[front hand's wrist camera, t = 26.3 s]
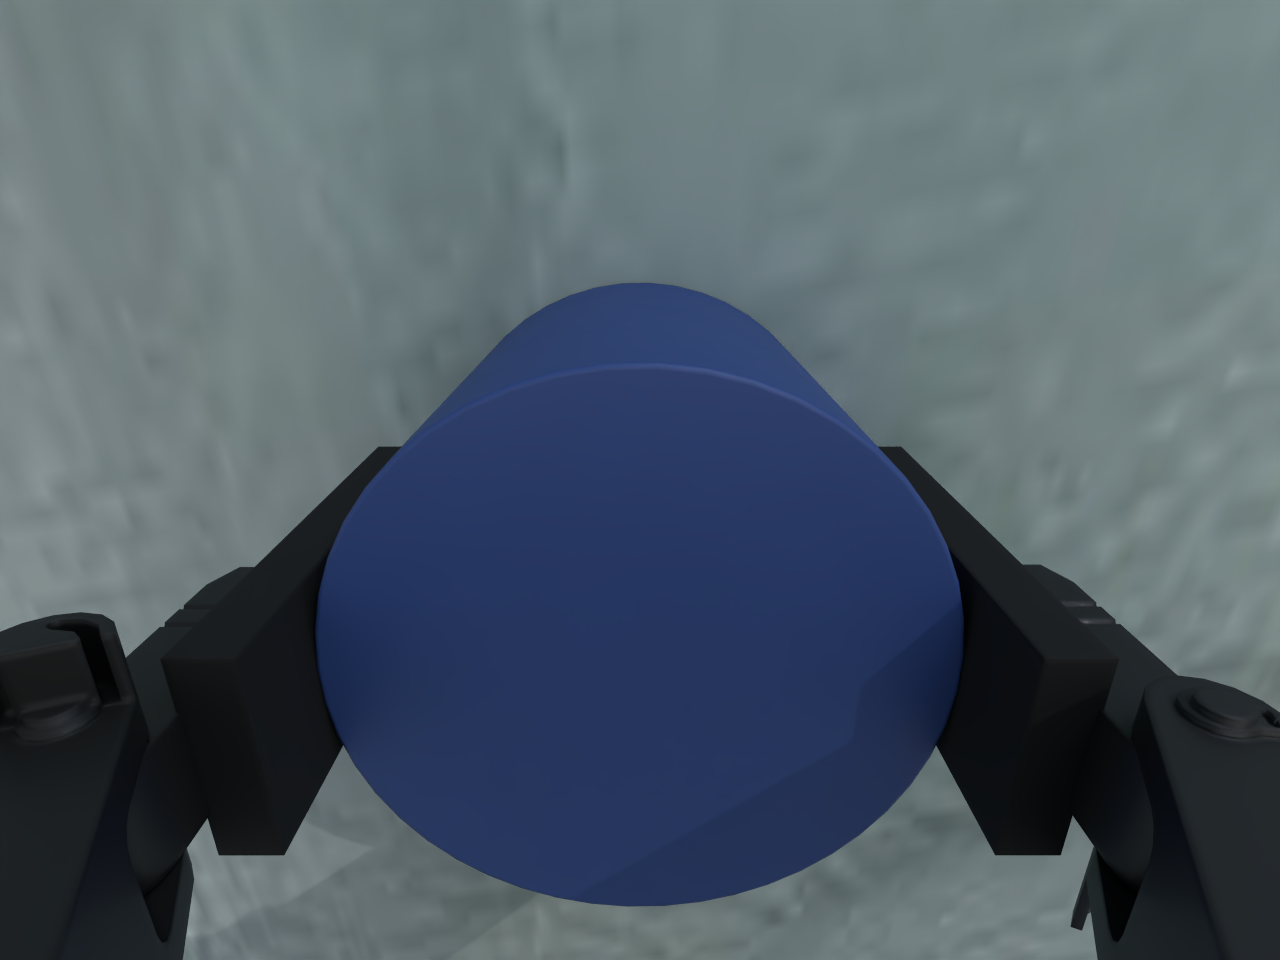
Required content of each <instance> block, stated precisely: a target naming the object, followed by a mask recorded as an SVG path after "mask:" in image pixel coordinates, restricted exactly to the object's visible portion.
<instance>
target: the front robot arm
mask: <svg viewBox="0 0 1280 960" xmlns="http://www.w3.org/2000/svg"><path fill="white" fill-rule="evenodd" d="M400 448H401V447H378V448H377V449H376V450H375V451H374V452H373V453H372V454H370V455H369V456H368V457H367V458H366V459H365V460H364V461H363V462H362V463H361V464H360V465H359V466H358V467H357V468H356V469H355V470H354V471H353V472H352V473H351V474H350V475H349V476H348V477H347V478H346V479H345V480H344V481H343V482H342V483H341V484H340V485H339V486H338V487H337V488H336V489H335V490H333V491H332V492H331V493H330V494H329V495H328V496H327V497H326V498H325V499H324V500H323V501H322V502H321V503H320V504H319V505H318V506H317V507H316V508H315V509H314V510H313V511H312V512H311V513H310V514H309V515H308V516H307V517H306V518H305V519H304V520H303V521H302V522H301V523H300V524H299V525H297V526H296V527H295V528H294V529H293V530H292V531H291V532H290V533H289V534H288V535H287V536H286V537H285V538H284V539H283V540H282V541H281V542H280V543H279V544H278V545H277V546H276V547H275V548H274V549H273V550H272V551H271V552H270V553H269V554H268V555H267V556H266V557H265V558H264V559H263V560H261V561H260V562H259V563H258V564H257V565H256V566H255V567H239V568H237V569H235V570H234V571H232V572H230V573H228V574H226V575H224V576H222V577H220V578H218V579H217V580H215V581H213V582H211V583H209V584H207V585H206V586H205V587H204V588H202V589H201V590H200V591H199V592H198V593H197V594H196V595H195V596H194V597H193V598H191V599H190V600H189V601H188V602H187V603H186V604H185V605H184V609H179V610H178V611H177V612H176V613H175V614H174V615H173V616H172V617H170V618H169V619H168V620H167V621H166V622H165V626H164V627H159V628H158V629H157V630H156V631H155V632H154V633H153V634H152V635H151V636H149V637H148V638H147V639H146V640H145V641H144V642H143V643H142V644H141V645H139V646H138V647H137V648H136V649H135V650H134V651H133V652H132V653H131V654H130V655H128V656H127V657H126V658H125V654H124V651H123V648H122V645H121V642H120V639H119V636H118V633H117V629H116V626H115V623H114V621H112V620H110V619H109V618H107V617H105V616H104V615H102V614H92V613H82V612H80V613H71V614H61V615H53V616H49V617H45V618H41V619H37V620H33V621H29V622H25V623H22V624H19V625H16V626H14V627H11V628H9V629H6V630H4V631H1V632H0V960H183V953H184V946H185V939H186V932H187V925H188V918H189V911H190V904H191V897H192V890H193V883H194V876H193V869H192V863H191V860H190V857H189V854H188V851H187V847H188V846H189V844H190V843H191V841H192V840H193V838H194V837H195V835H196V834H197V833H198V831H199V830H200V828H201V827H202V825H203V824H204V822H205V821H206V819H207V818H208V821H209V824H210V827H211V831H212V834H213V837H214V841H215V844H216V847H217V851H218V854H219V855H285V853H286V851H287V849H288V847H289V845H290V843H291V842H292V840H293V838H294V836H295V834H296V832H297V830H298V829H299V827H300V825H301V823H302V821H303V819H304V817H305V816H306V814H307V812H308V810H309V808H310V806H311V804H312V802H313V801H314V799H315V797H316V795H317V793H318V791H319V789H320V788H321V786H322V784H323V782H324V780H325V778H326V776H327V774H328V773H329V771H330V769H331V767H332V765H333V763H334V761H335V760H336V758H337V756H338V754H339V752H340V750H341V748H342V747H343V743H342V742H341V740H340V738H339V736H338V734H337V732H336V729H335V726H334V724H333V721H332V719H331V716H330V714H329V711H328V708H327V706H326V703H325V699H324V695H323V690H322V686H321V682H320V677H319V673H318V668H317V654H316V639H315V626H316V615H317V604H318V593H319V590H320V586H321V582H322V578H323V574H324V570H325V566H326V562H327V558H328V556H329V553H330V551H331V549H332V547H333V544H334V542H335V540H336V537H337V535H338V533H339V530H340V528H341V526H342V524H343V521H344V520H345V518H346V517H347V515H348V514H349V512H350V511H351V509H352V507H353V506H354V504H355V503H356V501H357V500H358V498H359V496H360V495H361V493H362V492H363V490H364V489H365V487H366V486H367V485H368V484H369V483H370V482H371V480H372V479H373V478H374V477H375V476H376V475H377V474H378V472H379V471H380V470H381V469H382V468H383V467H384V466H385V465H386V463H387V462H388V461H389V460H390V459H391V458H392V457H393V455H394V454H395V453H396V452H397V451H398V450H399V449H400ZM878 448H879V449H880V450H881V451H882V452H883V453H884V454H885V455H886V456H887V457H888V458H889V459H890V461H891V462H892V463H893V464H894V465H895V466H896V467H897V468H898V469H899V470H900V471H901V472H902V473H903V474H904V475H905V477H906V478H907V479H908V481H909V482H910V483H911V485H912V486H913V488H914V489H915V490H916V492H917V493H918V495H919V496H920V497H921V499H922V500H923V502H924V503H925V504H926V506H927V507H928V509H929V510H930V512H931V514H932V516H933V518H934V520H935V522H936V524H937V526H938V528H939V530H940V532H941V534H942V536H943V538H944V540H945V542H946V544H947V546H948V549H949V552H950V556H951V559H952V562H953V565H954V569H955V572H956V575H957V578H958V581H959V587H960V594H961V601H962V608H963V616H964V647H963V662H962V668H961V673H960V679H959V685H958V690H957V694H956V697H955V700H954V703H953V706H952V709H951V712H950V715H949V718H948V721H947V724H946V726H945V728H944V730H943V732H942V734H941V736H940V738H939V740H938V742H937V744H936V746H937V747H938V749H939V751H940V753H941V755H942V757H943V759H944V760H945V762H946V764H947V766H948V768H949V770H950V772H951V774H952V775H953V777H954V779H955V781H956V783H957V785H958V787H959V788H960V790H961V792H962V794H963V796H964V798H965V800H966V801H967V803H968V805H969V807H970V809H971V811H972V813H973V815H974V816H975V818H976V820H977V822H978V824H979V826H980V828H981V829H982V831H983V833H984V835H985V837H986V839H987V841H988V843H989V844H990V846H991V848H992V850H993V852H994V854H995V855H1061V852H1062V849H1063V846H1064V842H1065V839H1066V836H1067V832H1068V829H1069V826H1070V822H1071V819H1072V816H1074V818H1075V819H1076V821H1077V822H1078V824H1079V825H1080V826H1081V828H1082V829H1083V831H1084V832H1085V834H1086V835H1087V836H1088V838H1089V839H1090V841H1091V842H1092V844H1093V845H1094V848H1093V851H1092V854H1091V857H1090V860H1089V863H1088V866H1087V870H1086V873H1085V876H1084V879H1083V882H1082V885H1081V888H1080V891H1079V895H1078V898H1077V901H1076V904H1075V907H1074V910H1073V916H1072V922H1071V927H1073V928H1076V929H1079V930H1082V929H1083V926H1084V923H1085V920H1086V917H1087V914H1088V913H1090V912H1091V916H1092V923H1093V930H1094V937H1095V944H1096V951H1097V958H1098V960H1280V712H1278V711H1277V710H1275V709H1274V708H1272V707H1271V706H1269V705H1268V704H1266V703H1265V702H1263V701H1262V700H1259V699H1257V698H1255V697H1253V696H1251V695H1249V694H1246V693H1244V692H1242V691H1240V690H1238V689H1236V688H1233V687H1230V686H1226V685H1223V684H1220V683H1216V682H1213V681H1210V680H1206V679H1201V678H1193V677H1185V676H1177V675H1176V674H1175V673H1174V672H1173V671H1172V670H1171V669H1170V668H1168V667H1167V666H1166V665H1165V664H1164V663H1163V662H1162V661H1161V660H1160V659H1158V658H1157V657H1156V656H1155V655H1154V654H1153V653H1152V652H1151V651H1150V650H1148V649H1147V648H1146V647H1145V646H1144V645H1143V644H1142V643H1141V642H1140V641H1138V640H1137V639H1136V638H1135V637H1134V636H1133V635H1132V634H1131V633H1130V632H1128V631H1127V630H1126V629H1125V628H1124V627H1123V626H1122V625H1121V624H1116V623H1115V619H1114V618H1113V617H1112V616H1111V615H1109V614H1108V613H1107V612H1106V611H1105V610H1104V609H1103V608H1102V607H1097V606H1096V602H1095V601H1094V600H1093V599H1092V598H1091V597H1089V596H1088V595H1087V594H1086V593H1085V592H1084V591H1083V590H1082V589H1081V588H1079V587H1078V586H1077V585H1076V584H1075V583H1074V582H1072V581H1070V580H1068V579H1066V578H1065V577H1063V576H1061V575H1059V574H1057V573H1055V572H1053V571H1051V570H1049V569H1047V568H1046V567H1044V566H1042V565H1022V564H1021V563H1020V562H1019V561H1018V560H1017V559H1016V558H1015V557H1014V556H1013V555H1012V554H1011V553H1010V552H1009V551H1008V550H1007V549H1006V548H1005V547H1004V546H1003V545H1002V544H1001V543H999V542H998V541H997V540H996V539H995V538H994V537H993V536H992V535H991V534H990V533H989V532H988V531H987V530H986V529H985V528H984V527H983V526H982V525H981V524H980V523H979V522H978V521H977V520H976V519H975V518H974V517H973V516H972V515H971V514H970V513H969V512H968V511H967V510H966V509H965V508H963V507H962V506H961V505H960V504H959V503H958V502H957V501H956V500H955V499H954V498H953V497H952V496H951V495H950V494H949V493H948V492H947V491H946V490H945V489H944V488H943V487H942V486H941V485H940V484H939V483H938V482H937V481H936V480H935V479H934V478H933V477H932V476H931V475H930V474H929V473H928V472H926V471H925V470H924V469H923V468H922V467H921V466H920V465H919V464H918V463H917V462H916V461H915V460H914V459H913V458H912V457H911V456H910V455H909V454H908V453H907V452H906V451H905V450H904V449H903V448H902V447H878Z"/></svg>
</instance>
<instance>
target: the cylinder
mask: <svg viewBox="0 0 1280 960" xmlns="http://www.w3.org/2000/svg"><path fill="white" fill-rule="evenodd" d="M315 639H316V654H317V668H318V673H319V677H320V682H321V686H322V690H323V695H324V699H325V703H326V706H327V708H328V711H329V714H330V716H331V719H332V721H333V724H334V726H335V729H336V732H337V734H338V736H339V738H340V740H341V742H342V743H343V745H344V747H345V749H346V751H347V752H348V754H349V756H350V758H351V759H352V761H353V763H354V765H355V766H356V768H357V769H358V770H359V772H360V773H361V774H362V776H363V777H364V778H365V780H366V781H367V782H368V784H369V785H370V786H371V788H372V789H373V790H374V792H375V793H376V794H377V795H378V796H379V797H380V798H381V799H382V800H383V801H384V802H385V803H386V804H387V805H388V806H389V807H390V808H391V809H392V810H393V811H394V813H395V814H396V815H397V816H398V817H399V818H400V819H402V820H403V821H404V822H405V823H406V824H408V825H409V826H410V827H411V828H413V829H414V830H415V831H416V832H418V833H419V834H420V835H421V836H422V837H424V838H425V839H426V840H427V841H429V842H431V843H432V844H434V845H435V846H437V847H438V848H440V849H441V850H443V851H445V852H446V853H448V854H449V855H451V856H452V857H454V858H455V859H457V860H459V861H461V862H463V863H465V864H467V865H469V866H471V867H473V868H475V869H477V870H479V871H481V872H483V873H485V874H487V875H489V876H492V877H494V878H497V879H499V880H502V881H505V882H507V883H510V884H513V885H515V886H518V887H520V888H524V889H527V890H531V891H535V892H538V893H542V894H546V895H549V896H553V897H557V898H562V899H568V900H574V901H580V902H586V903H591V904H604V905H617V906H666V905H676V904H685V903H694V902H701V901H706V900H711V899H716V898H721V897H726V896H731V895H735V894H738V893H742V892H745V891H748V890H752V889H755V888H758V887H761V886H765V885H768V884H770V883H773V882H775V881H778V880H780V879H782V878H785V877H787V876H790V875H792V874H794V873H797V872H799V871H801V870H803V869H805V868H807V867H809V866H811V865H812V864H814V863H816V862H818V861H820V860H822V859H823V858H825V857H827V856H829V855H831V854H833V853H834V852H835V851H837V850H838V849H840V848H841V847H843V846H844V845H846V844H847V843H848V842H850V841H851V840H853V839H854V838H856V837H857V836H859V835H860V834H861V833H862V832H864V831H865V830H866V829H867V828H868V827H869V826H870V825H872V824H873V823H874V822H875V821H876V820H877V819H878V818H880V817H881V816H882V815H883V814H884V813H885V812H886V811H888V809H889V808H890V807H891V806H892V805H893V804H894V803H895V802H896V801H897V799H898V798H899V797H900V796H901V795H902V794H903V793H904V792H905V790H906V789H907V788H908V787H909V786H910V785H911V784H912V782H913V781H914V779H915V778H916V776H917V775H918V773H919V772H920V770H921V769H922V768H923V766H924V765H925V763H926V762H927V760H928V759H929V757H930V756H931V754H932V752H933V750H934V748H935V746H936V744H937V742H938V740H939V738H940V736H941V734H942V732H943V730H944V728H945V726H946V724H947V721H948V718H949V715H950V712H951V709H952V706H953V703H954V700H955V697H956V694H957V690H958V685H959V679H960V673H961V668H962V662H963V647H964V616H963V608H962V601H961V594H960V587H959V581H958V578H957V575H956V572H955V569H954V565H953V562H952V559H951V556H950V552H949V549H948V546H947V544H946V542H945V540H944V538H943V536H942V534H941V532H940V530H939V528H938V526H937V524H936V522H935V520H934V518H933V516H932V514H931V512H930V510H929V509H928V507H927V506H926V504H925V503H924V502H923V500H922V499H921V497H920V496H919V495H918V493H917V492H916V490H915V489H914V488H913V486H912V485H911V483H910V482H909V481H908V479H907V478H906V477H905V475H904V474H903V473H902V472H901V471H900V470H899V469H898V468H897V467H896V466H895V465H894V464H893V463H892V462H891V461H890V459H889V458H888V457H887V456H886V455H885V454H884V453H883V452H882V451H881V450H880V449H879V448H878V447H877V446H876V445H875V444H874V442H873V441H872V440H871V439H870V438H869V437H868V436H867V435H866V434H865V433H864V432H863V431H862V430H861V429H860V428H859V426H858V425H857V424H856V423H855V422H854V421H853V420H852V419H851V418H850V417H849V416H848V415H847V414H846V413H845V412H844V410H843V409H842V408H841V407H840V406H839V405H838V404H837V403H836V402H835V401H834V400H833V399H832V398H831V397H830V396H829V394H828V393H827V392H826V391H825V390H824V389H823V388H822V387H821V386H820V385H819V384H818V383H817V382H816V381H815V380H814V378H813V377H812V376H811V375H810V374H809V373H808V372H807V371H806V370H805V369H804V368H803V367H802V366H801V365H800V364H799V362H798V361H797V360H796V359H795V358H794V357H793V356H792V355H791V354H790V353H789V352H788V351H787V350H786V349H785V348H784V347H783V346H782V344H781V343H780V342H779V341H778V340H777V339H776V338H775V337H774V336H773V335H772V334H771V333H770V332H769V331H768V330H766V329H765V328H764V327H763V326H761V325H760V324H759V323H757V322H756V321H755V320H754V319H752V318H751V317H750V316H748V315H747V314H745V313H743V312H741V311H740V310H738V309H736V308H734V307H733V306H731V305H729V304H728V303H726V302H723V301H721V300H718V299H716V298H713V297H711V296H709V295H706V294H704V293H701V292H697V291H693V290H689V289H685V288H681V287H677V286H671V285H662V284H653V283H626V284H616V285H610V286H604V287H597V288H593V289H590V290H587V291H583V292H580V293H577V294H573V295H570V296H568V297H566V298H563V299H561V300H559V301H557V302H555V303H553V304H550V305H548V306H546V307H544V308H543V309H541V310H540V311H538V312H537V313H535V314H533V315H532V316H530V317H529V318H527V319H526V320H524V321H523V322H522V323H521V324H519V325H518V326H517V327H516V328H515V329H514V330H512V331H511V332H510V333H509V334H508V335H506V336H505V337H504V338H503V339H502V341H501V342H500V343H499V344H498V345H497V346H496V347H495V348H494V349H493V350H492V351H491V352H490V353H489V354H488V355H487V356H486V358H485V359H484V360H483V361H482V362H481V363H480V364H479V365H478V366H477V367H476V368H475V369H474V370H473V371H472V372H471V374H470V375H469V376H468V377H467V378H466V379H465V380H464V381H463V382H462V383H461V384H460V385H459V386H458V387H457V388H456V389H455V391H454V392H453V393H452V394H451V395H450V396H449V397H448V398H447V399H446V400H445V401H444V402H443V403H442V404H441V405H440V407H439V408H438V409H437V410H436V411H435V412H434V413H433V414H432V415H431V416H430V417H429V418H428V419H427V420H426V421H425V422H424V424H423V425H422V426H421V427H420V428H419V429H418V430H417V431H416V432H415V433H414V434H413V435H412V436H411V437H410V438H409V440H408V441H407V442H406V443H405V444H404V445H403V446H402V447H401V448H400V449H399V450H398V451H397V452H396V453H395V454H394V455H393V457H392V458H391V459H390V460H389V461H388V462H387V463H386V465H385V466H384V467H383V468H382V469H381V470H380V471H379V472H378V474H377V475H376V476H375V477H374V478H373V479H372V480H371V482H370V483H369V484H368V485H367V486H366V487H365V489H364V490H363V492H362V493H361V495H360V496H359V498H358V500H357V501H356V503H355V504H354V506H353V507H352V509H351V511H350V512H349V514H348V515H347V517H346V518H345V520H344V521H343V524H342V526H341V528H340V530H339V533H338V535H337V537H336V540H335V542H334V544H333V547H332V549H331V551H330V553H329V556H328V558H327V562H326V566H325V570H324V574H323V578H322V582H321V586H320V590H319V593H318V604H317V615H316V626H315Z"/></svg>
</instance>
